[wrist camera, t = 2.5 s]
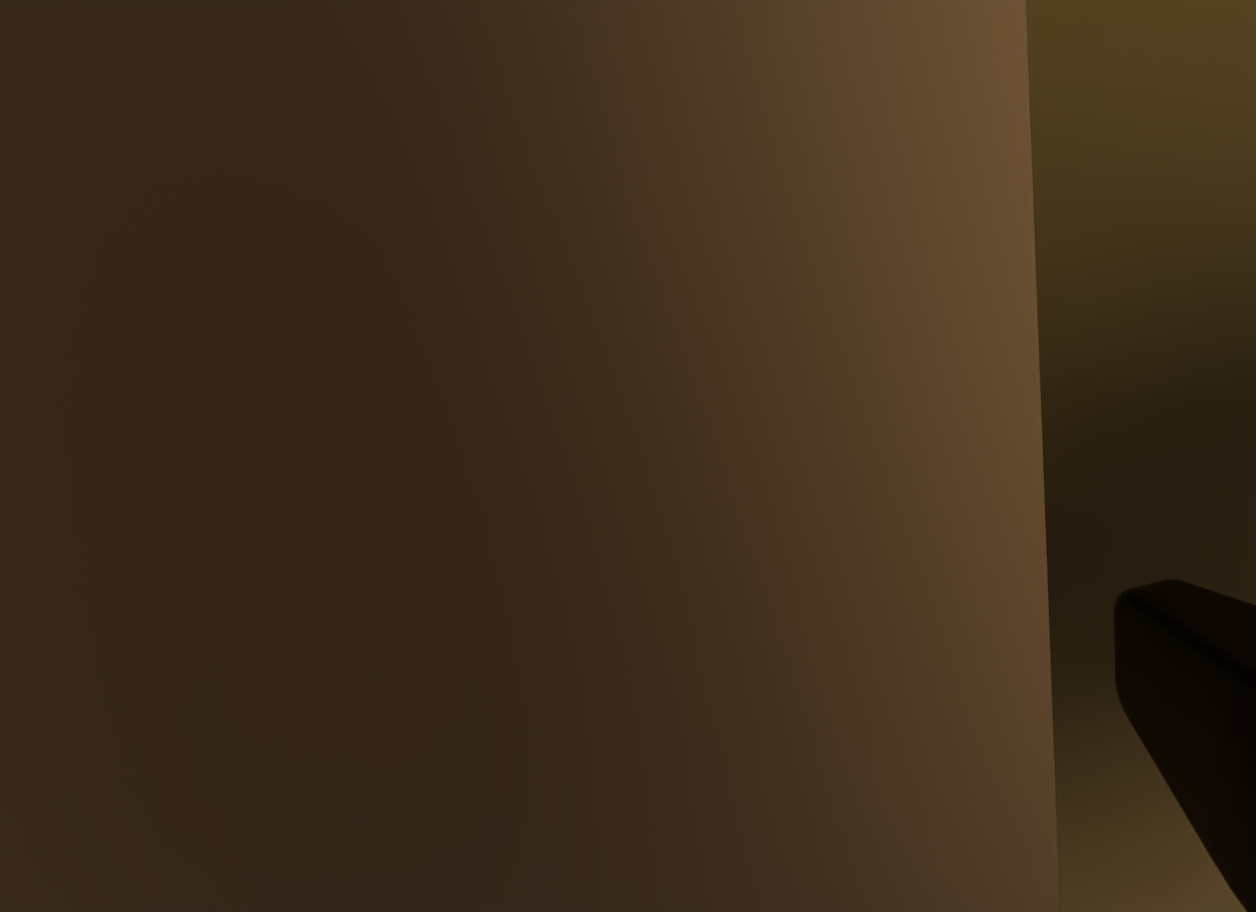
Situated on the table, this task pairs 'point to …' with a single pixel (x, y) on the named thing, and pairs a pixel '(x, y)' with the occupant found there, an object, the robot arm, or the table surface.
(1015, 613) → the brown slab
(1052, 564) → the table surface
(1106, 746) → the table surface
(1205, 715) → the robot arm
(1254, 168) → the table surface
